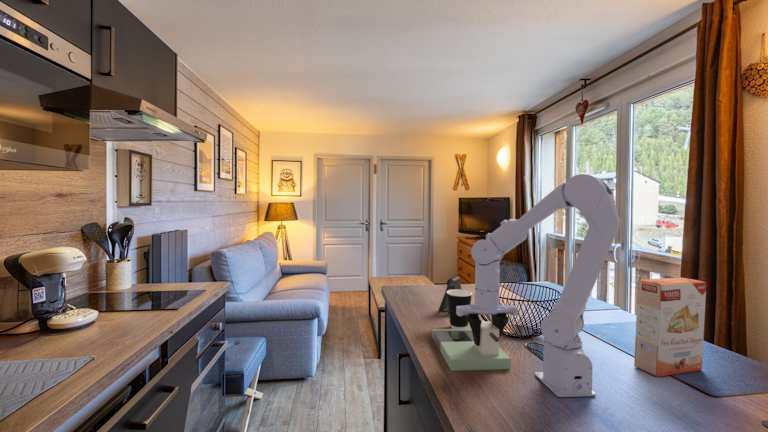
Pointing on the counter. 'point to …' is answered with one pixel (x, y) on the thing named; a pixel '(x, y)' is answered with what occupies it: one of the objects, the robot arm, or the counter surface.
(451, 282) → the door stopper
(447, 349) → the board
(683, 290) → the cracker box
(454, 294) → the dixie cup
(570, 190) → the robot arm
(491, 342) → the plug
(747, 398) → the counter surface
